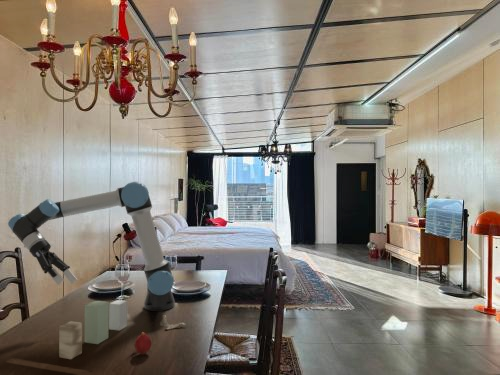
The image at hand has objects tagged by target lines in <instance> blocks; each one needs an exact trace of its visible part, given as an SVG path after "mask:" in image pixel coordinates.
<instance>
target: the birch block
mask: <svg viewBox="0 0 500 375" xmlns="http://www.w3.org/2000/svg"><path fill="white" fill-rule="evenodd" d="M58 328H59V329H58V330H59V332H58V336H59V337H58V338H59V340H58V341H59V344H58V345H59V346H58V347H59V348H58V355H59V356H58V358H62V359H68V360H73V359H74V358H75V357H78V356H79V355H81V354H82V353H83V322H80V321H73V320H72V321H71V320H70V321H68V322H66V323H64V324H61V325H59V326H58Z"/></svg>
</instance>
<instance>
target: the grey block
mask: <svg viewBox="0 0 500 375" xmlns="http://www.w3.org/2000/svg"><path fill="white" fill-rule="evenodd" d="M126 327H128V301H127V300H121V299H120V300H119V299H116V300H114V301H111V302H110V303H109V302H108V330H111V331H113V330H114V331H122V330H123V329H125V328H126Z"/></svg>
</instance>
